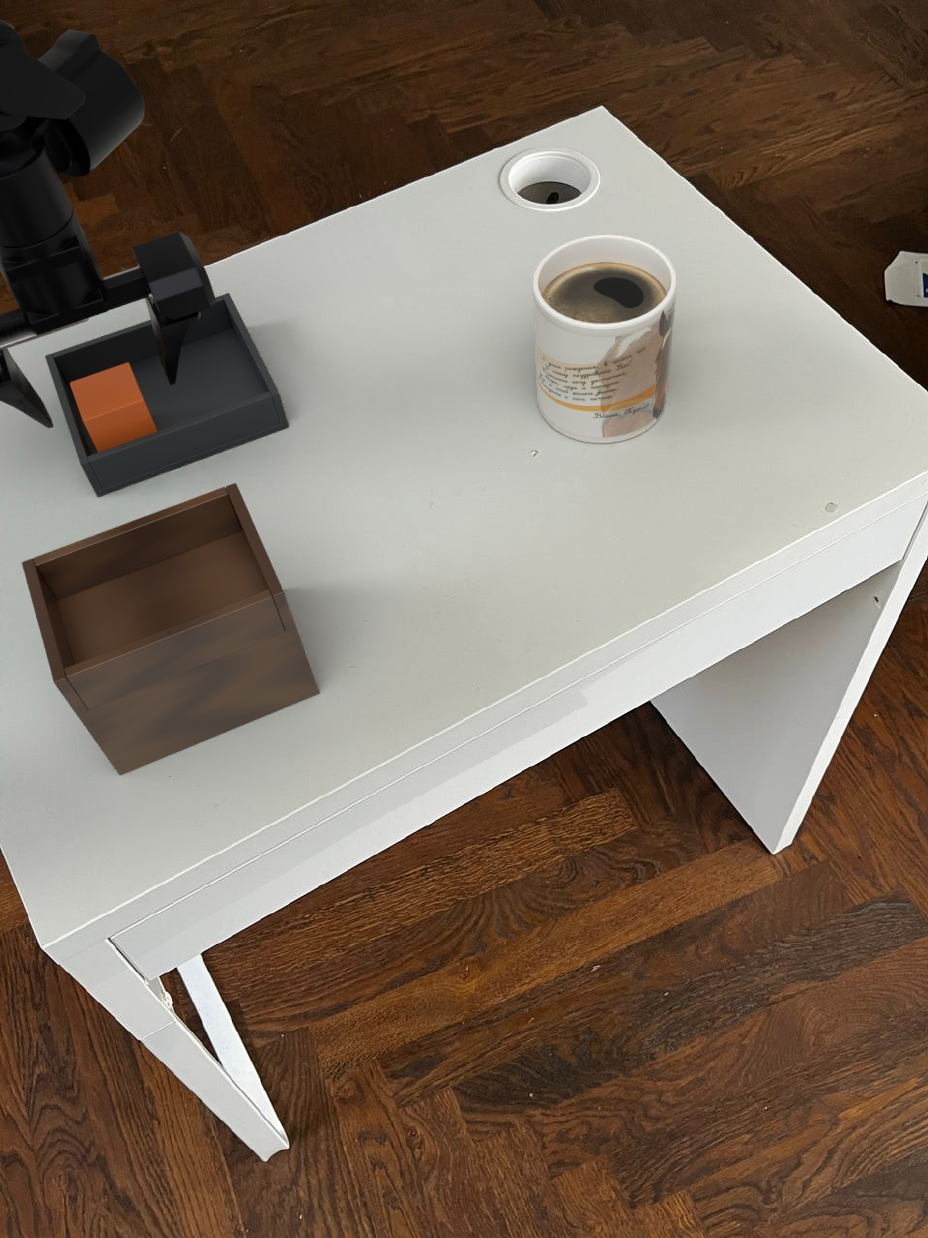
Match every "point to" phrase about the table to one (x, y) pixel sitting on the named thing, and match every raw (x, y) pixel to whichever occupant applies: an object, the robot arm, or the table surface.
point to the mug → (603, 336)
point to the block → (113, 407)
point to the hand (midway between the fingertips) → (111, 402)
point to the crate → (169, 629)
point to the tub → (174, 396)
